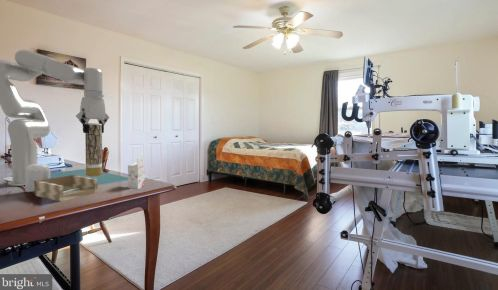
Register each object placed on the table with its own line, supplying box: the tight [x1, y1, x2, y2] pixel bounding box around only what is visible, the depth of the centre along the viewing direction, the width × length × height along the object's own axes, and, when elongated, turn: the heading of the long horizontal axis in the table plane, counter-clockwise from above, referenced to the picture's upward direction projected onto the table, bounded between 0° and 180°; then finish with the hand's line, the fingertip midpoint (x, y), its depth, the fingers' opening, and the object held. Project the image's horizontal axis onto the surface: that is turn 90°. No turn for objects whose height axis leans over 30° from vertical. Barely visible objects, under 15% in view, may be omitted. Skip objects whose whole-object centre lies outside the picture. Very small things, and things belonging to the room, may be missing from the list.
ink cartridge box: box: [127, 157, 146, 190], centre depth 128 cm, size 9×5×15 cm, turn 0°
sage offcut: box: [63, 188, 80, 194], centre depth 109 cm, size 3×10×2 cm
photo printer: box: [24, 163, 52, 193], centre depth 114 cm, size 10×4×12 cm, turn 81°
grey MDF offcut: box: [63, 189, 88, 195], centre depth 108 cm, size 3×10×2 cm, turn 158°
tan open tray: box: [33, 174, 99, 202], centre depth 109 cm, size 16×15×7 cm
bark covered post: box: [84, 122, 103, 177], centre depth 125 cm, size 7×7×25 cm
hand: (93, 132), depth 124 cm, fingers closed on bark covered post, 6 cm apart
